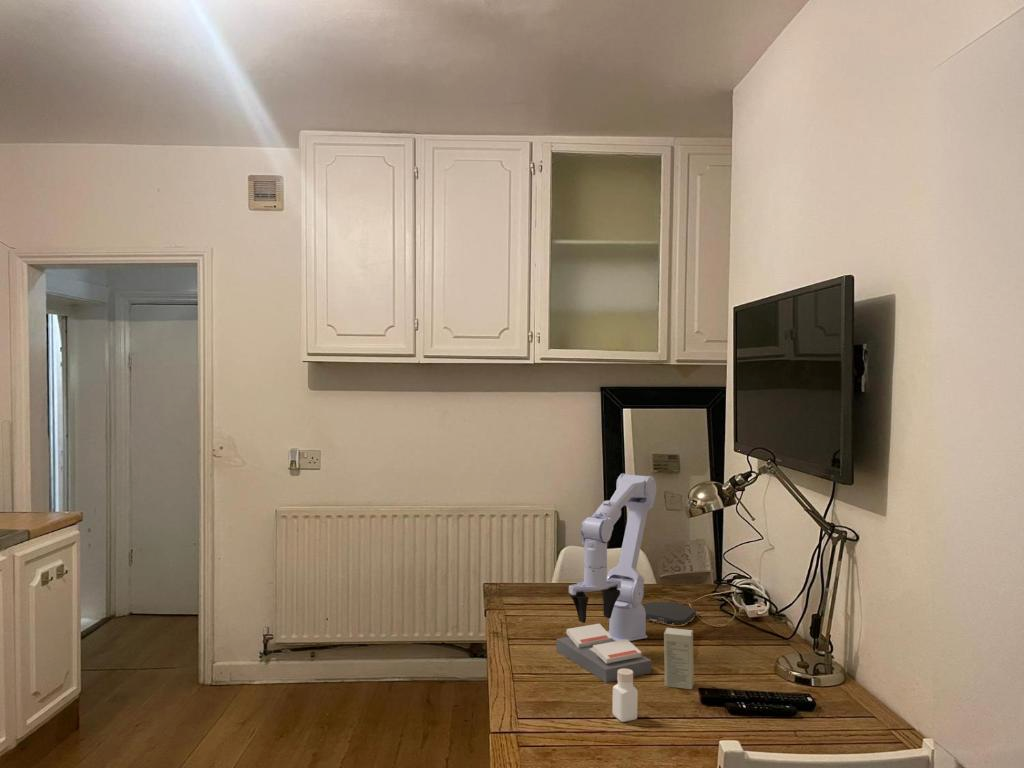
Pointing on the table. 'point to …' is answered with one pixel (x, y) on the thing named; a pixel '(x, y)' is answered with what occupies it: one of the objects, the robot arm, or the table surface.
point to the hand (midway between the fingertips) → (594, 619)
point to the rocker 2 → (616, 651)
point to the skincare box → (678, 658)
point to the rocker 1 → (588, 635)
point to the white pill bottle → (625, 696)
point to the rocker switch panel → (601, 661)
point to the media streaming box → (669, 612)
